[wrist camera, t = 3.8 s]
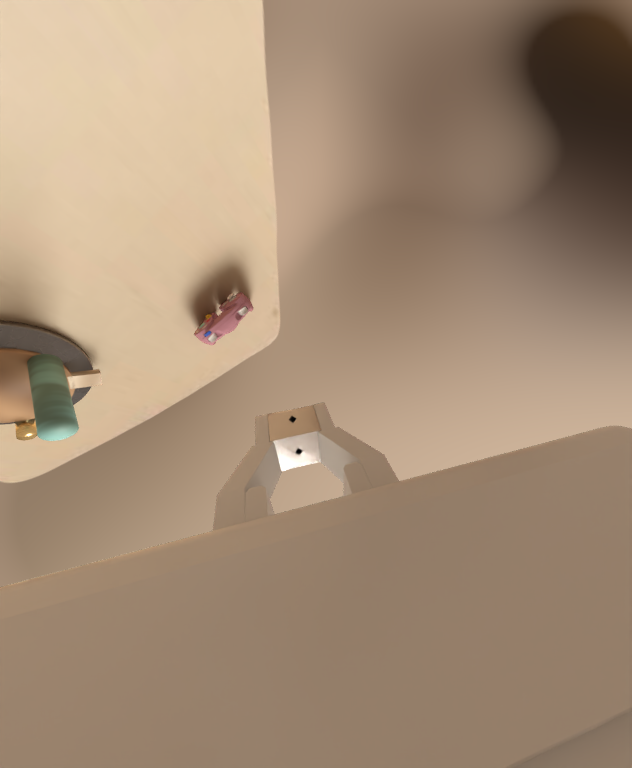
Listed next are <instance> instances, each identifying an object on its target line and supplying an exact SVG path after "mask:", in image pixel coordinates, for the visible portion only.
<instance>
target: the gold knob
mask: <svg viewBox="0 0 632 768" xmlns="http://www.w3.org/2000/svg"><path fill="white" fill-rule="evenodd" d="M15 426H16V437H17V439H19V440H30V439H33V438H35V437H36V436H37V429H36V422H35V418H34V419H30V420H25V421H19V422H15Z"/></svg>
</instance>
